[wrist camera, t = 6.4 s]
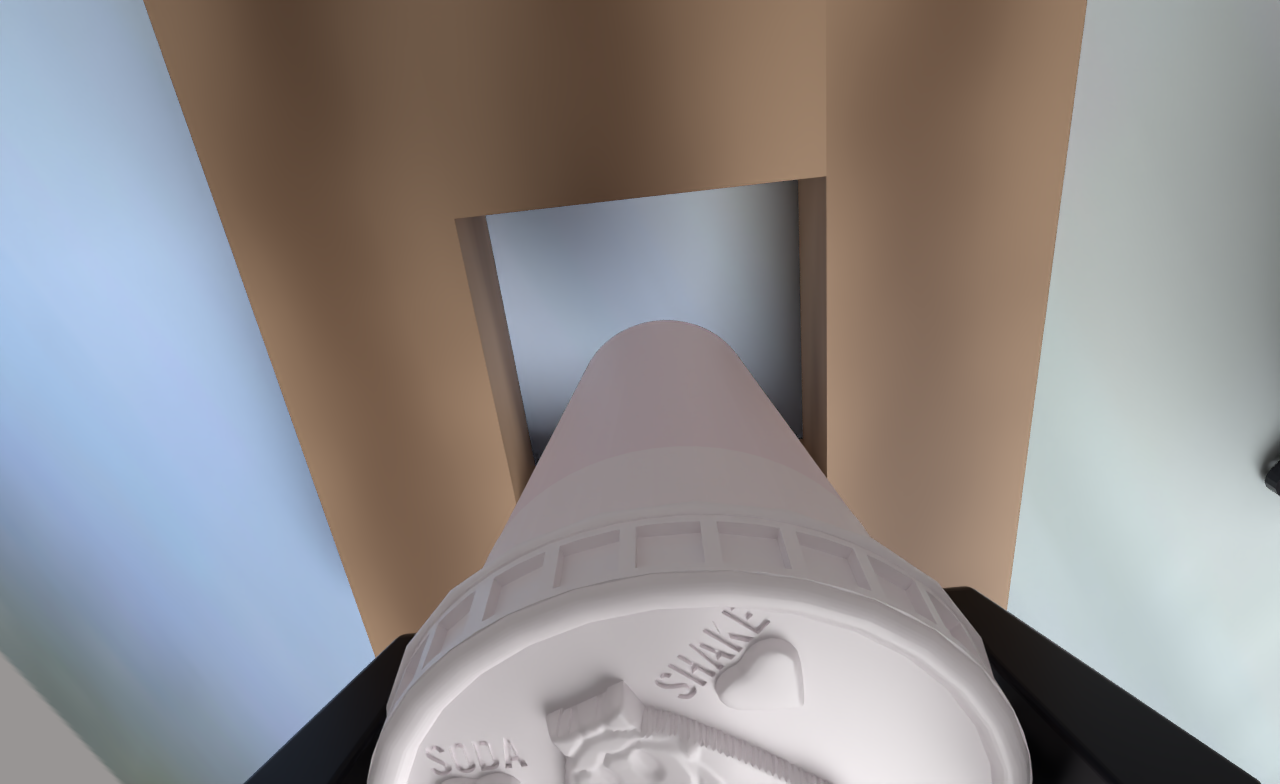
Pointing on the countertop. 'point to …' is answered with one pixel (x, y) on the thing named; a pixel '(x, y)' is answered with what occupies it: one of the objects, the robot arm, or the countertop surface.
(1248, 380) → the countertop surface
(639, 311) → the countertop surface
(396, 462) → the hole board
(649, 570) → the smoothie
